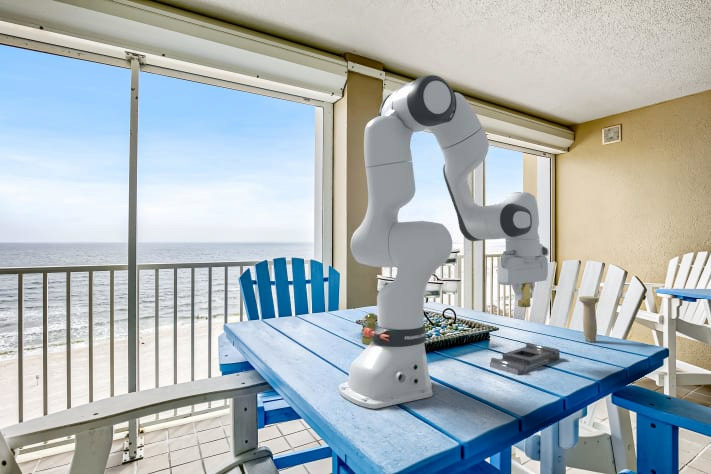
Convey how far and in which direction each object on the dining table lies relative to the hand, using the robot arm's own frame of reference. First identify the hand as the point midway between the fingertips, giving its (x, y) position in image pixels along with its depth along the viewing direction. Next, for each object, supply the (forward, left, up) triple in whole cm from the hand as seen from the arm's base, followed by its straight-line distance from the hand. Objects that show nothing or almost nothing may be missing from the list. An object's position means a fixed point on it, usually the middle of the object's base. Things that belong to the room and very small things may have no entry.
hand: (524, 298), depth 102 cm
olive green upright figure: (-20, +45, -18) cm, 53 cm away
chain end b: (+3, 0, -18) cm, 18 cm away
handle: (+39, -1, -18) cm, 43 cm away
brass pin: (0, 0, -2) cm, 2 cm away
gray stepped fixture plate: (-3, 0, -18) cm, 18 cm away
